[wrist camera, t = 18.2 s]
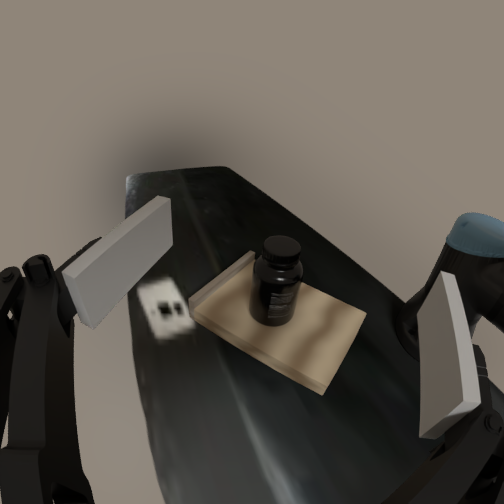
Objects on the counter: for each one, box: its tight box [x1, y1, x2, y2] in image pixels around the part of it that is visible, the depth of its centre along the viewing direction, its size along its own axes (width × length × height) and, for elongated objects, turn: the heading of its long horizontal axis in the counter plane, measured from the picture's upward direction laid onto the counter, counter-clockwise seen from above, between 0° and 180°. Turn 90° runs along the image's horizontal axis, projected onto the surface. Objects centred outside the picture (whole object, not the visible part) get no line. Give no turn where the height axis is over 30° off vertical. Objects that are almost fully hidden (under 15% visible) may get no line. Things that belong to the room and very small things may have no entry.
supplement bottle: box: [249, 236, 304, 327], centre depth 42 cm, size 7×7×12 cm
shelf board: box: [189, 251, 367, 395], centre depth 46 cm, size 23×16×4 cm
